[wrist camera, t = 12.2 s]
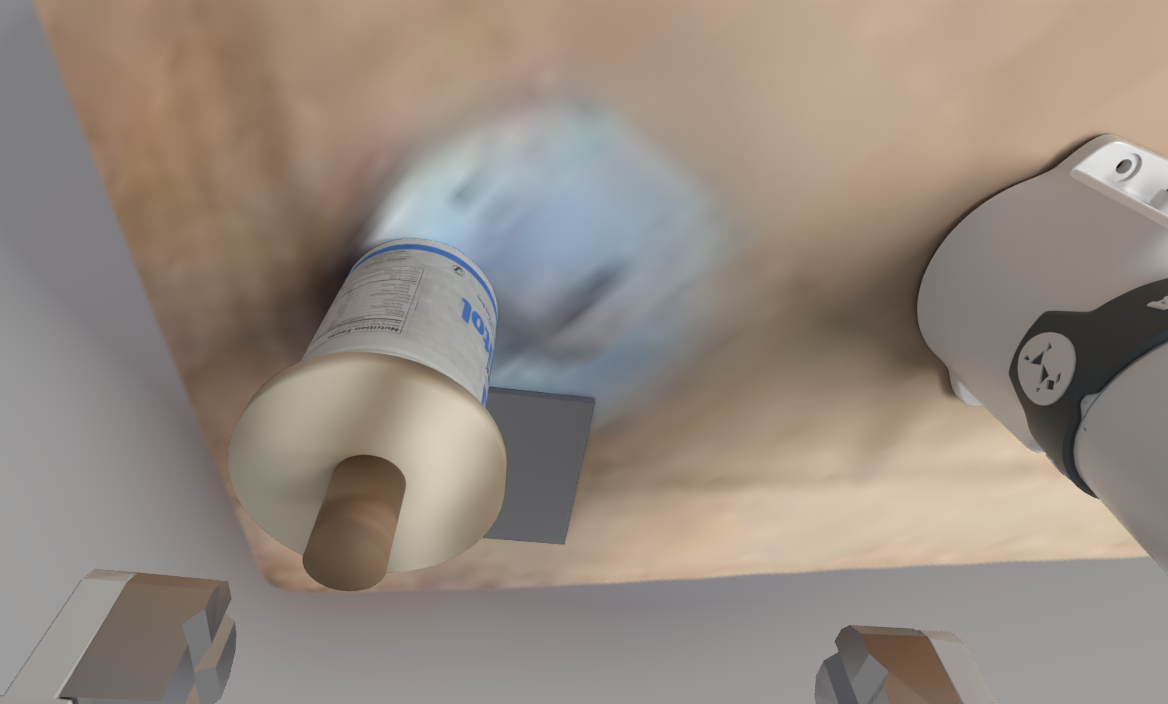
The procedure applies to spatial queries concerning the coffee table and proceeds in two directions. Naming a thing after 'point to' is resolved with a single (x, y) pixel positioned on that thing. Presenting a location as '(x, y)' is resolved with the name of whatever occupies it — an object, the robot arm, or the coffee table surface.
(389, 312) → the supplement tub
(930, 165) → the coffee table surface
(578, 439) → the mat
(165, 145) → the coffee table surface
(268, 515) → the lid
